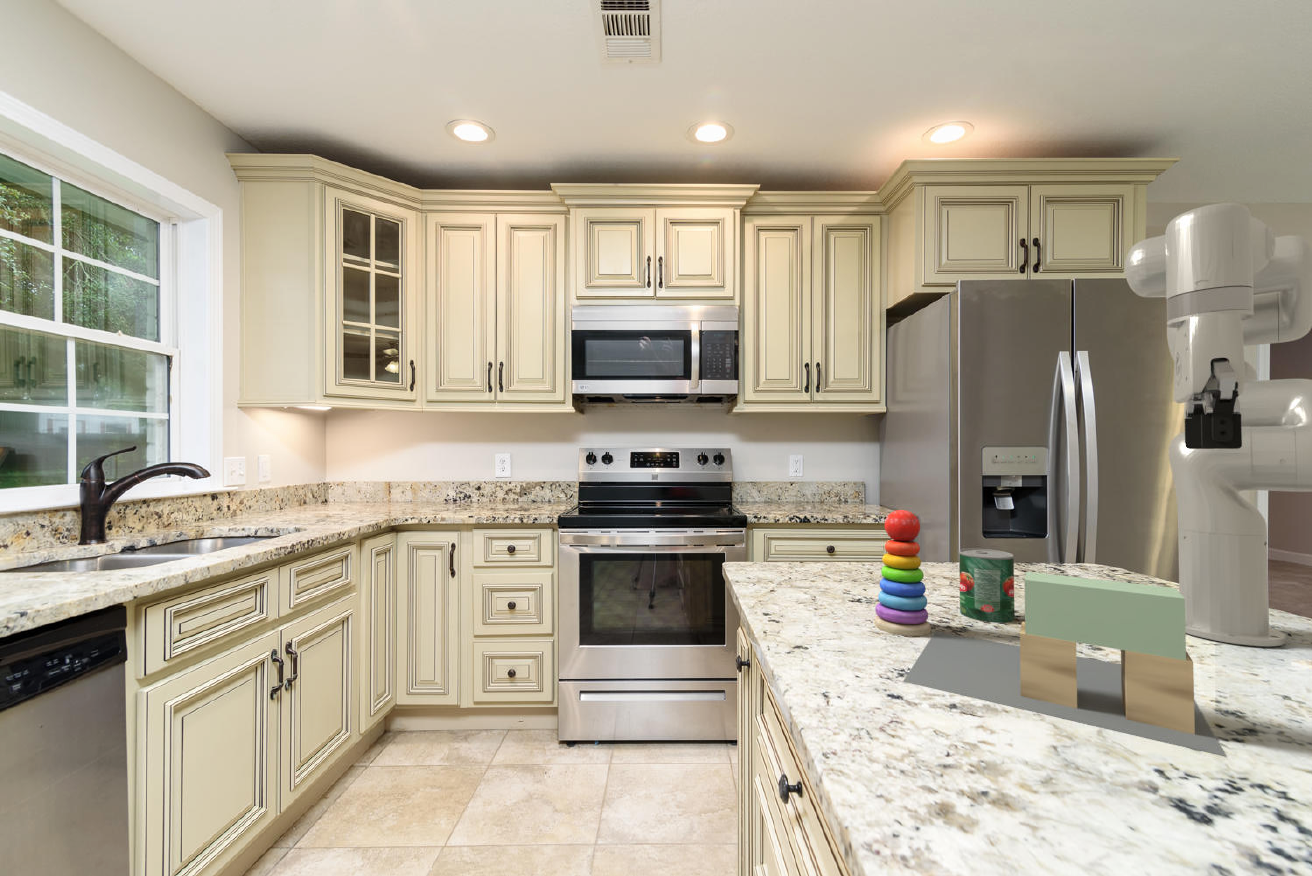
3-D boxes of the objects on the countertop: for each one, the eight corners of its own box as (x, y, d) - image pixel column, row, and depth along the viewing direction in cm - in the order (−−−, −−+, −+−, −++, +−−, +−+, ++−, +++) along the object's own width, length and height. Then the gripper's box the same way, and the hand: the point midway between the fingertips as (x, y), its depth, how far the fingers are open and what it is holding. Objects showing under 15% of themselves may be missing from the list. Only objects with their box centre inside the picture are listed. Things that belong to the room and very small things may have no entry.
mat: (935, 635, 83) (935, 631, 83) (1180, 679, 67) (1179, 674, 67) (903, 686, 65) (903, 681, 65) (1226, 763, 49) (1226, 756, 49)
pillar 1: (1022, 680, 65) (1021, 621, 65) (1075, 691, 62) (1074, 629, 62) (1020, 696, 61) (1019, 633, 61) (1077, 708, 58) (1076, 642, 58)
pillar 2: (1121, 701, 60) (1120, 637, 60) (1184, 714, 57) (1183, 646, 57) (1126, 719, 56) (1125, 650, 56) (1194, 734, 53) (1193, 661, 53)
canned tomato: (1026, 626, 87) (1025, 557, 87) (976, 626, 87) (975, 557, 87) (995, 612, 95) (995, 548, 95) (950, 611, 95) (949, 548, 95)
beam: (1027, 622, 65) (1026, 571, 65) (1176, 645, 57) (1175, 588, 57) (1025, 633, 61) (1024, 579, 61) (1186, 660, 53) (1184, 598, 53)
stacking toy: (937, 642, 80) (936, 513, 80) (879, 638, 81) (879, 512, 82) (922, 625, 88) (921, 508, 88) (870, 621, 89) (869, 507, 90)
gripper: (1156, 326, 76) (1159, 448, 76) (1179, 299, 62) (1182, 448, 62) (1233, 319, 72) (1236, 448, 72) (1276, 288, 58) (1280, 448, 58)
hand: (1211, 448), depth 67 cm, fingers open, 9 cm apart
